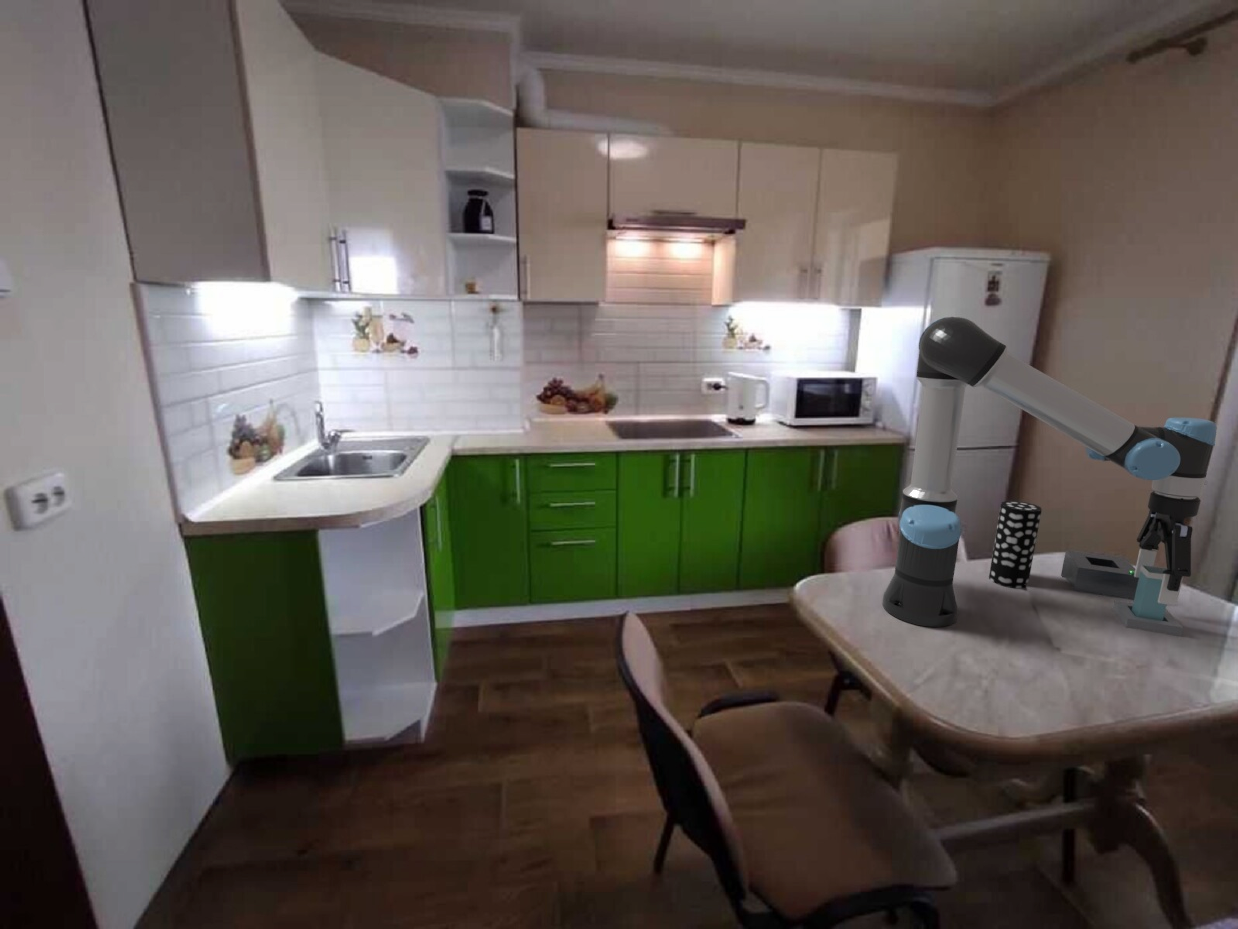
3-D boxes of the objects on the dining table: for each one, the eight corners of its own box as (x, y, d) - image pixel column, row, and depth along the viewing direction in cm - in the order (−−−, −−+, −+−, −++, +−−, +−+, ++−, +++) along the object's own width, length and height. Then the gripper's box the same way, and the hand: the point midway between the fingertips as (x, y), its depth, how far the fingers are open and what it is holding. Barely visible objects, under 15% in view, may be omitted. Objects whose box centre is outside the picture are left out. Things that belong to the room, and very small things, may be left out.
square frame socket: (1125, 631, 124) (1128, 618, 123) (1111, 612, 132) (1114, 600, 131) (1180, 640, 120) (1183, 627, 120) (1162, 621, 128) (1165, 608, 128)
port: (1073, 594, 141) (1078, 565, 139) (1060, 575, 151) (1066, 548, 150) (1136, 604, 136) (1143, 574, 134) (1119, 583, 147) (1125, 556, 145)
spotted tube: (1035, 588, 144) (1050, 511, 139) (1001, 588, 144) (1015, 511, 139) (1014, 574, 152) (1027, 500, 147) (981, 574, 152) (993, 500, 147)
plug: (1136, 624, 125) (1148, 572, 122) (1129, 615, 129) (1141, 564, 126) (1161, 628, 123) (1174, 575, 120) (1154, 619, 127) (1166, 568, 124)
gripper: (1230, 514, 107) (1204, 620, 112) (1174, 481, 129) (1154, 570, 134) (1177, 509, 110) (1153, 612, 115) (1131, 477, 132) (1112, 565, 137)
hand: (1153, 590), depth 124 cm, fingers open, 13 cm apart
